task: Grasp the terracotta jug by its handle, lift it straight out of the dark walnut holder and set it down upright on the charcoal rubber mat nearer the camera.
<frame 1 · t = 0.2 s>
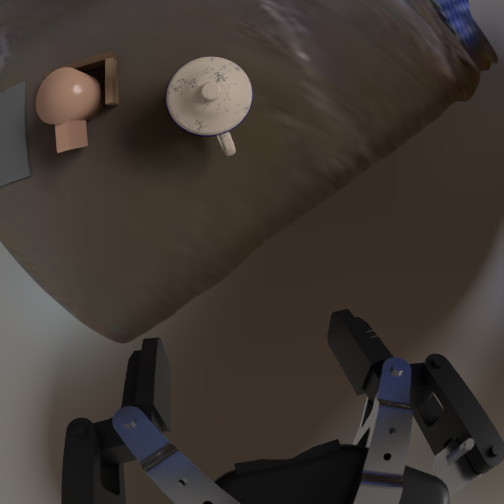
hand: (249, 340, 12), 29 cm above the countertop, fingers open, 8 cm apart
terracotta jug: (83, 100, 27), on the countertop
walnut holder: (83, 100, 27), on the countertop
teacup with lid: (210, 112, 32), on the countertop
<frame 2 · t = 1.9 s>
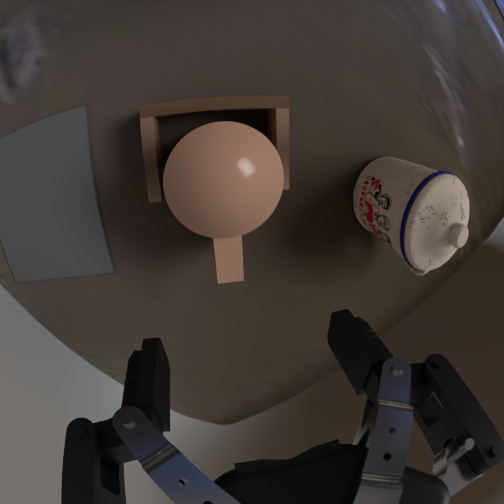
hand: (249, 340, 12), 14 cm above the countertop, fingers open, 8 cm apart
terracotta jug: (215, 163, 22), on the countertop
charcoal mat: (38, 205, 20), on the countertop
walnut holder: (215, 163, 22), on the countertop
teacup with lid: (384, 205, 27), on the countertop
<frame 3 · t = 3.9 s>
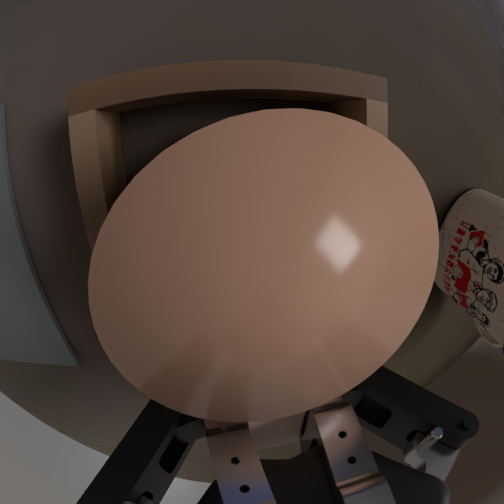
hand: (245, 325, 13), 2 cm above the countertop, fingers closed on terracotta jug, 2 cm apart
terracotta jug: (233, 202, 12), on the countertop, touching gripper
walnut holder: (233, 202, 12), on the countertop
teacup with lid: (461, 254, 17), on the countertop
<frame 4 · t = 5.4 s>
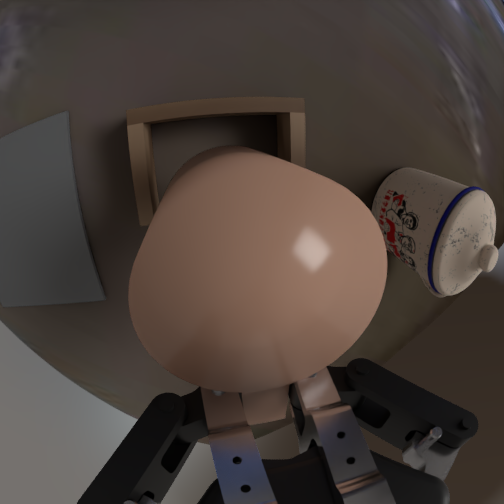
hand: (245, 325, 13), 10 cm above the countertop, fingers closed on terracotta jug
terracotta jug: (230, 213, 14), point 6 cm above the countertop, touching gripper
charcoal mat: (20, 225, 17), on the countertop
walnut holder: (217, 177, 19), on the countertop
teacup with lid: (402, 221, 24), on the countertop
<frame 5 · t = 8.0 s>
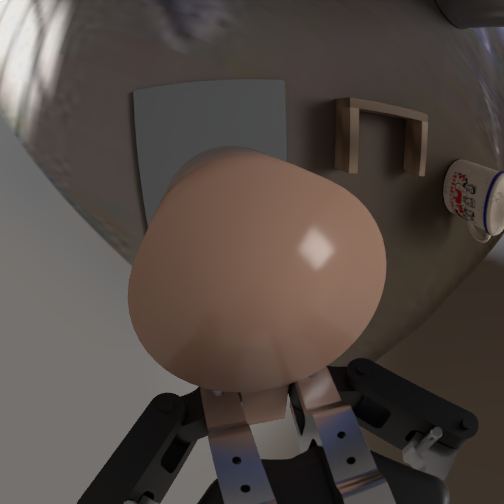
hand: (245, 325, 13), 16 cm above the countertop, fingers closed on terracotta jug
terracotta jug: (230, 214, 14), point 12 cm above the countertop, touching gripper
charcoal mat: (213, 163, 24), on the countertop
walnut holder: (376, 152, 27), on the countertop
teacup with lid: (457, 194, 32), on the countertop
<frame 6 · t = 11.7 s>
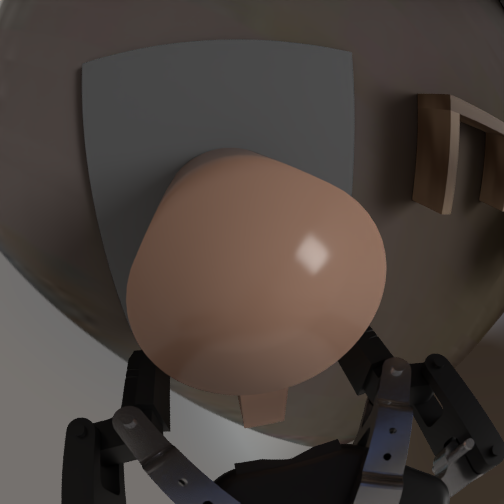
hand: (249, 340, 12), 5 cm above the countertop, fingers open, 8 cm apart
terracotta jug: (230, 216, 14), resting on charcoal mat
charcoal mat: (227, 192, 14), on the countertop
walnut holder: (458, 176, 16), on the countertop
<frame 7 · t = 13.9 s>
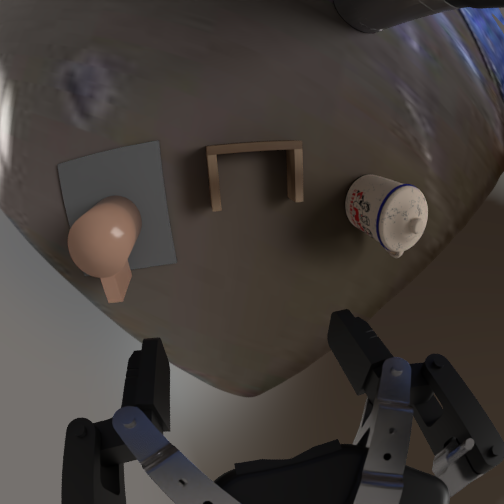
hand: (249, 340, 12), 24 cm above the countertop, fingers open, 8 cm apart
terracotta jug: (116, 222, 31), resting on charcoal mat
charcoal mat: (114, 212, 31), on the countertop
walnut holder: (253, 185, 33), on the countertop
teacup with lid: (368, 209, 39), on the countertop
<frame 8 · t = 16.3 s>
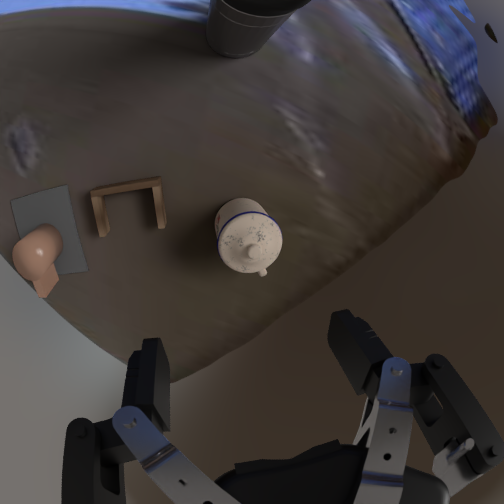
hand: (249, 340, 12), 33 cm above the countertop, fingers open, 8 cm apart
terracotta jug: (47, 241, 38), resting on charcoal mat
charcoal mat: (47, 234, 38), on the countertop
walnut holder: (132, 214, 40), on the countertop
teacup with lid: (243, 229, 46), on the countertop
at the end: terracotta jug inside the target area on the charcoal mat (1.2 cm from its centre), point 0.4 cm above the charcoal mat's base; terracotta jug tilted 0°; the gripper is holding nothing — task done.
